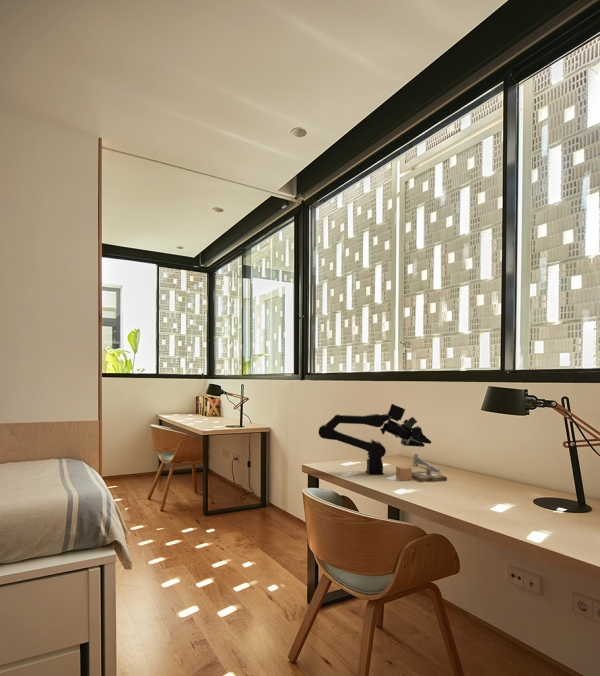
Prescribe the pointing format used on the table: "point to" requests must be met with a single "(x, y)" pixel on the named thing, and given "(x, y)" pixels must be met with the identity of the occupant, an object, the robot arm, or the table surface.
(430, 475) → the post board
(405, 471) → the light brown cube
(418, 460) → the caliper
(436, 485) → the table surface
